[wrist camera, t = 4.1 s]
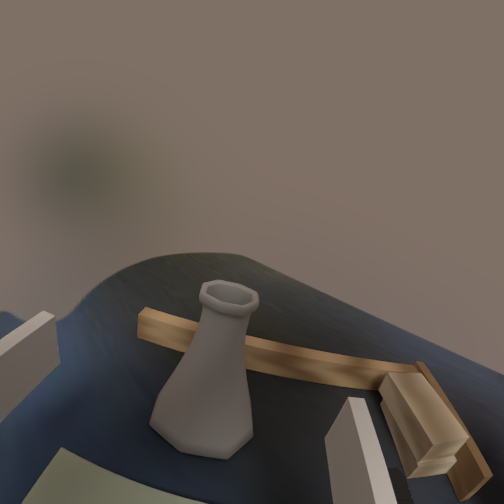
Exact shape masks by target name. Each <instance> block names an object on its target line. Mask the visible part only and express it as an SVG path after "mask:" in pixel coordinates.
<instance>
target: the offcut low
mask: <svg viewBox="0 0 504 504" xmlns="http://www.w3.org/2000/svg"><path fill="white" fill-rule="evenodd" d="M380 405H381V408H382V411H383V413H384V416H385V418H386V421H387V424H388V426H389V429H390V432H391V434H392V437H393V440H394V443H395V445H396V448H397V451H398V454H399V457H400V460H401V462H402V465H403V468H404V471H405V474H406V477H407V479H408V478H417V477H425V476H432V475H438V474H444V473H446V472H447V471H448V470H449V469H450V468H451V467H452V466H453V465H454V464H455V463H456V462H457V460H456V458H455V456H454V455H452V456H449V457H445V458H441V459H436V460H432V461H427V462H423V463H417V461H416V459H415V457H414V455H413V453H412V451H411V449H410V447H409V445H408V443H407V442H406V440H405V438H404V436H403V434H402V432H401V430H400V428H399V427H398V425H397V423H396V421H395V419H394V417H393V416H392V414H391V412H390V410H389V408H388V406H387V405H386V403H385V401H384V399H383V400H382V402H381V404H380Z"/></svg>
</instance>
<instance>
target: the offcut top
mask: <svg viewBox="0 0 504 504" xmlns="http://www.w3.org/2000/svg"><path fill="white" fill-rule="evenodd" d="M379 392H380V394H381V396H382V397H383V399H384V401H385V403H386V405H387V406H388V408H389V410H390V412H391V414H392V416H393V417H394V419H395V421H396V423H397V425H398V427H399V428H400V430H401V432H402V434H403V436H404V438H405V440H406V442H407V443H408V445H409V447H410V449H411V451H412V453H413V455H414V457H415V459H416V461H417V463H423V462H427V461H432V460H436V459H441V458H445V457H449V456H452V455H455V454H456V453H457V452H458V450H459V449H460V448H461V447H462V445H463V444H464V443H465V442H466V440H467V439H468V438H469V436H468V435H467V433H466V432H465V430H464V429H463V428H462V426H461V425H460V423H459V422H458V421H457V419H456V418H455V417H454V415H453V414H452V413H451V411H450V410H449V409H448V407H447V406H446V405H445V403H444V402H443V401H442V399H441V398H440V397H439V395H438V394H437V393H436V391H435V390H434V389H433V387H432V386H431V385H430V384H429V382H428V381H427V380H426V378H425V377H424V376H423V375H422V373H395V372H387V374H386V376H385V378H384V380H383V382H382V384H381V386H380V388H379Z"/></svg>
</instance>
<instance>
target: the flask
mask: <svg viewBox="0 0 504 504" xmlns="http://www.w3.org/2000/svg"><path fill="white" fill-rule="evenodd" d="M199 301H200V302H201V303H202V304H203V310H202V315H201V320H200V322H199V325H198V327H197V330H196V332H195V335H194V338H193V340H192V343H191V344H190V346H189V347H188V349H187V351H186V352H185V354H184V356H183V357H182V359H181V361H180V362H179V364H178V366H177V367H176V369H175V370H174V372H173V373H172V375H171V376H170V378H169V379H168V381H167V382H166V384H165V385H164V387H163V388H162V390H161V391H160V393H159V395H158V396H157V399H156V402H155V405H154V409H153V412H152V415H151V418H150V422H149V425H150V426H151V427H152V428H153V429H154V430H155V431H156V432H157V433H159V434H160V435H161V436H162V437H163V438H164V439H165V440H166V441H168V442H169V443H170V444H171V445H172V446H174V447H175V448H176V449H177V450H178V451H180V452H182V453H188V454H193V455H199V456H205V457H212V458H219V459H226V460H228V459H229V458H230V457H231V456H232V455H233V454H235V453H236V452H237V451H238V450H239V449H240V448H241V447H242V446H244V445H245V444H246V443H247V442H248V441H249V440H250V439H251V438H252V437H253V424H252V409H251V401H250V395H249V389H248V383H247V377H246V368H245V359H244V353H245V337H246V331H247V327H248V322H249V318H250V315H251V313H252V312H254V311H256V310H257V308H258V306H259V297H258V292H256V291H253V290H251V289H249V288H247V287H245V286H243V285H241V284H237V283H232V282H228V281H223V280H214V281H210V282H205V283H203V284H202V288H201V291H200V295H199Z"/></svg>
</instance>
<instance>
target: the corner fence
mask: <svg viewBox="0 0 504 504" xmlns="http://www.w3.org/2000/svg"><path fill="white" fill-rule="evenodd" d="M198 325H199V323H197V322H194V321H190V320H187V319H183V318H180V317H176V316H173V315H170V314H166V313H163V312H160V311H156V310H153V309H150V308H147V307H145V308H144V309H143V310H142V311H141V312H140V313H139V315H138V330H137V338H140V339H143V340H146V341H149V342H152V343H155V344H158V345H162V346H165V347H168V348H171V349H174V350H178V351H181V352H184V353H185V352H186V351H187V349H188V347H189V346H190V344H191V343H192V340H193V338H194V335H195V332H196V330H197V327H198ZM244 359H245V368H246V369H249V370H254V371H258V372H263V373H267V374H272V375H277V376H282V377H287V378H293V379H298V380H304V381H309V382H315V383H322V384H328V385H335V386H342V387H350V388H358V389H366V390H376V391H379V388H380V386H381V384H382V382H383V380H384V378H385V376H386V374H387V372H395V373H422V375H423V376H424V377H425V378H426V380H427V381H428V382H429V384H430V385H431V386H432V387H433V389H434V390H435V391H436V393H437V394H438V395H439V397H440V398H441V399H442V401H443V402H444V403H445V405H446V406H447V407H448V409H449V410H450V411H451V413H452V414H453V415H454V417H455V418H456V419H457V421H458V422H459V423H460V425H461V426H462V428H463V429H464V430H465V432H466V433H467V435H468V436H469V438H468V439H467V440H466V442H465V443H464V444H463V445H462V447H461V448H460V449H459V450H458V452H457V453H456V454H455V455H454V456H455V458H456V460H457V462H456V463H455V464H454V465H453V466H452V467H451V468H450V469H449V470H448V471H447V472H446V473H447V475H448V477H449V479H450V482H451V484H452V486H453V489H454V491H455V494H456V496H457V499H458V501H459V502H462V501H465V500H468V499H469V498H470V497H471V496H472V495H473V494H474V493H476V492H477V491H478V490H479V489H480V488H481V487H482V486H483V485H484V484H485V483H486V482H487V481H488V480H489V479H490V478H491V477H492V476H493V474H492V472H491V470H490V468H489V467H488V465H487V463H486V461H485V459H484V458H483V456H482V454H481V452H480V451H479V449H478V447H477V445H476V444H475V442H474V440H473V439H472V437H471V435H470V434H469V432H468V430H467V429H466V427H465V425H464V424H463V422H462V420H461V419H460V417H459V416H458V414H457V412H456V411H455V409H454V408H453V406H452V405H451V403H450V401H449V400H448V398H447V397H446V395H445V394H444V392H443V391H442V389H441V388H440V386H439V385H438V383H437V382H436V380H435V379H434V377H433V376H432V374H431V373H430V371H429V370H428V368H427V367H426V366H425V364H424V363H423V362H418V361H416V362H415V364H414V365H408V364H400V363H392V362H384V361H377V360H371V359H364V358H358V357H351V356H345V355H340V354H334V353H328V352H323V351H318V350H312V349H307V348H302V347H297V346H292V345H288V344H283V343H278V342H274V341H269V340H265V339H261V338H256V337H252V336H248V335H246V337H245V353H244Z"/></svg>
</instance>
